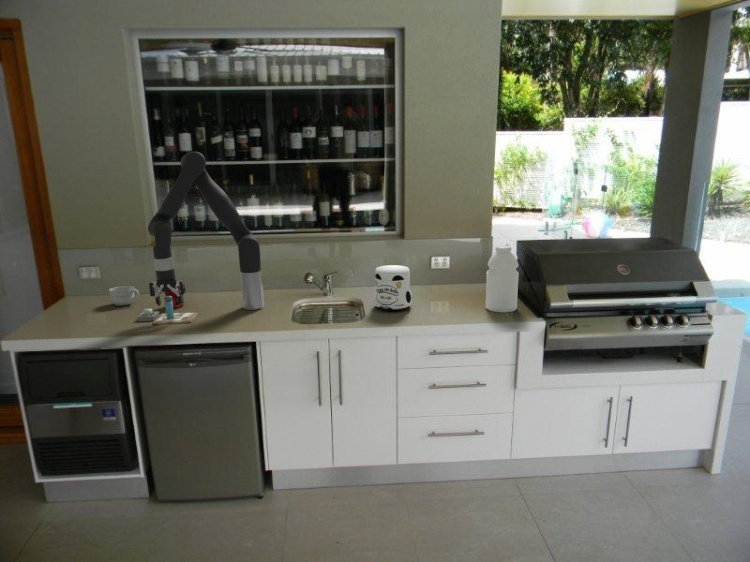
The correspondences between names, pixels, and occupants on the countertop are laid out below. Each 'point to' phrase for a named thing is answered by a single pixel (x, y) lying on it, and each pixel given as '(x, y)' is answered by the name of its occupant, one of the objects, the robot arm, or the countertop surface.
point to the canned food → (175, 298)
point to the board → (176, 318)
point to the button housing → (148, 317)
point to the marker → (169, 307)
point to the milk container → (392, 287)
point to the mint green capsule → (148, 312)
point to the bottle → (502, 281)
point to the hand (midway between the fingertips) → (169, 304)
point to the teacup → (123, 295)
